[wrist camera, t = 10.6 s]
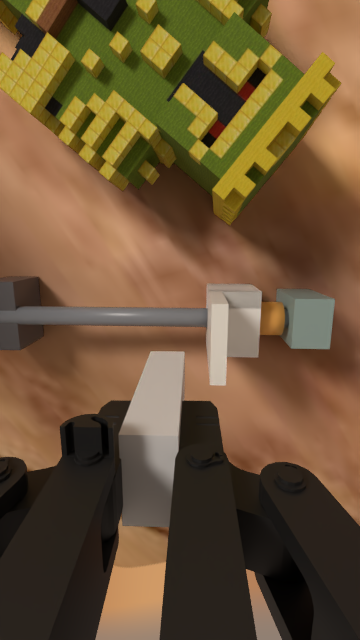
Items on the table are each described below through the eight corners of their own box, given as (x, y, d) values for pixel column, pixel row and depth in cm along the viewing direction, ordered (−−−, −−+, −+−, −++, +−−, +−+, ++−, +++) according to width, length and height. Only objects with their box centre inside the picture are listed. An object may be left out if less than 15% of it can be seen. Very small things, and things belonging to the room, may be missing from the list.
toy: (-37, -385, 17) (399, 12, 18) (57, -144, 27) (333, 102, 28) (-177, -63, 20) (195, 257, 21) (-47, 44, 30) (202, 258, 31)
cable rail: (14, 335, 34) (-24, 354, 28) (8, 276, 33) (-34, 283, 27) (304, 340, 32) (328, 361, 27) (310, 278, 31) (336, 286, 25)
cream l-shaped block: (205, 338, 31) (209, 385, 21) (206, 283, 30) (211, 304, 20) (248, 339, 31) (273, 386, 21) (251, 283, 30) (279, 304, 20)
